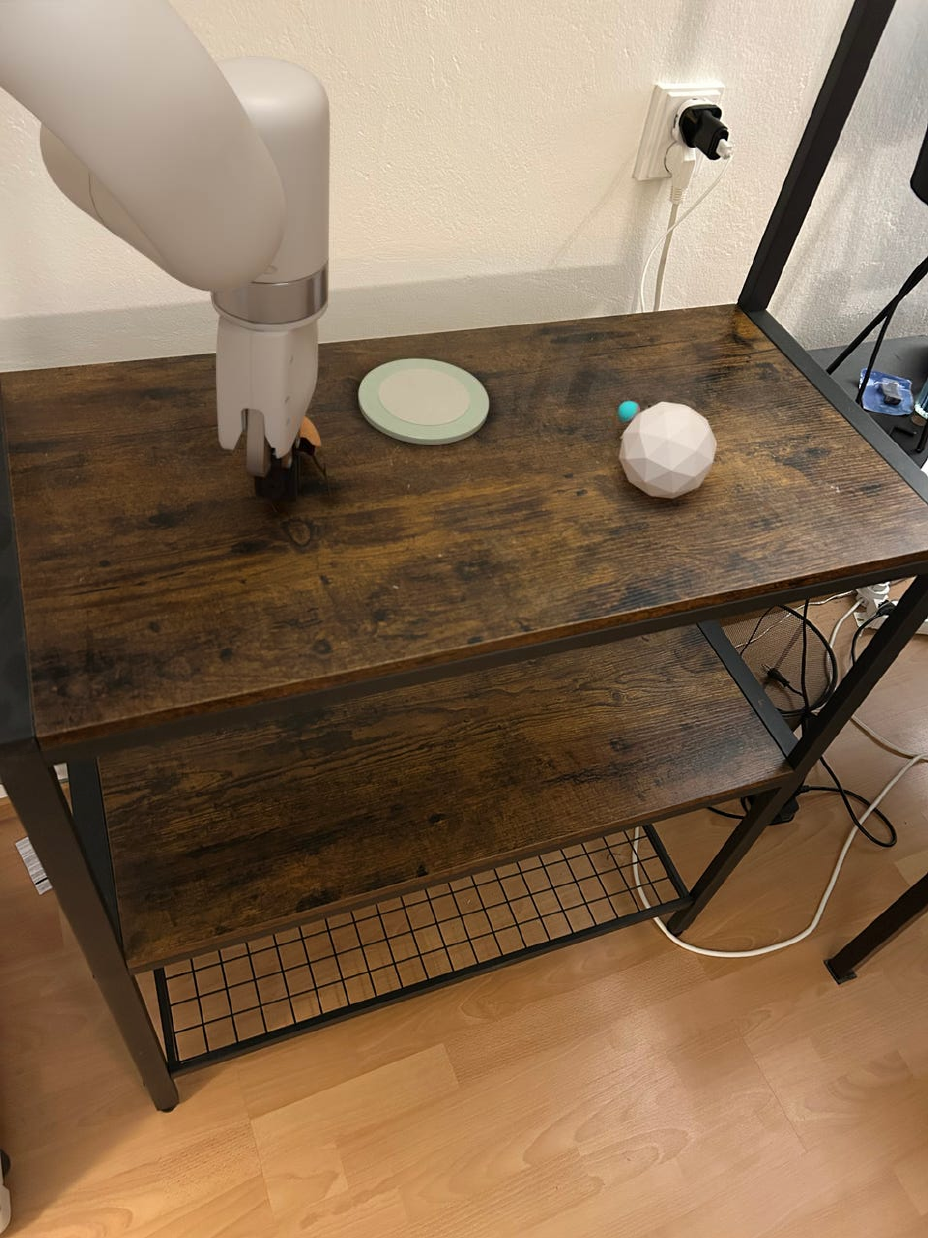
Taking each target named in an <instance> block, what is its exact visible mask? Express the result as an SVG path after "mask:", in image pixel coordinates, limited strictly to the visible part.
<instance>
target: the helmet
mask: <svg viewBox="0 0 928 1238" xmlns="http://www.w3.org/2000/svg"><path fill="white" fill-rule="evenodd" d="M318 447H320V448H322V441H321V438H320V434H319V432H318V430H317V428H316V426H315V425H314V423H313V422H312V421H311V420H310V419H309V418H308V417H307V416H306V415H305V416H304V418H303V421H302V423H301V426H300V442H299V446H298V448H297V449H296V448H292V450H298V451H300V454H302V453H305V454H306V455H308V456H309V457H311V458H312V460H313V462H314V464H315V466H316V468H317V469H318V471H319V472H320V473H321V474H322V475H323V477H324V479H325V482H326V487H327V491H328V501H329V500H331V499H332V495H331V488H330V483H329V480H328V475H327V468H326V462H325V459H324V453H321V455H322V459H323V467H322V465H321V464H320V462H319V460H318V459H317V457H316V454H317V450H318V449H317V448H318ZM320 451H321V452H323V450H322V449H320ZM268 500H269V504H270V505H271V507H272V509H273V510H274V512H275V514H278V512H277V510H276V509H275V506H274V505H273V504H272V501H271V499H268Z"/></svg>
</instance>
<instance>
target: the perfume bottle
mask: <svg viewBox="0 0 928 1238" xmlns="http://www.w3.org/2000/svg"><path fill="white" fill-rule="evenodd" d="M640 407H641V406H640V405H639V404H638V402H636V401H632V400H627V401H624V402H622V403H621V404H620V405H619V407H618V410H617V414H618V417H619V419H620V420H621V422H622V423H624V424H628V426H627V427H626V428H625V429H624V431H623V432H622V435H621V436H620V438H619V440H621V444H620V449H619V455H618V459H619V461H620V463H621V466H622V468H623V471H624V473H625V476H626V477H627V480H628V482H629V483H631V484H632V485H634V486H635V487H637V488H638V489H640V491H642V492H644V493H645V494H647V495H648V496H650V497H656V498H666V499H675V498H677V497H680V496H682V495H684V494H687V493H689V492H691V491H694V490H696V489H699V488H700V486H701V484H702V483H703V482H704V480H705V478H706V477H707V475H708V474H709V472H711V470H712V468H713V463H714V460H715V455H716V452H717V451H716V450H717V447H718V442H717V440H716V437H715V435H714V433H713V430H712V428H711V426H710V424H709V421H708V419H707V418H706V417H704V416H703V415H702V414H700V413H698V412H697V411H696V410H694V409H693V408H691V407H690V406H688V405H686V404H681V403H675V402H668V401H661V402H658V403H657V404H655V405H652V406H651V404H648V405H647V406H646V408H644V410H643V411H641V408H640Z"/></svg>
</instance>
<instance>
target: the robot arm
mask: <svg viewBox="0 0 928 1238" xmlns="http://www.w3.org/2000/svg"><path fill="white" fill-rule="evenodd" d="M0 88H2V89H3V91H5V92H6V93H8V95H10V96H11V97H12V98H13V99H15V101H17V102H18V103H19V104H20V105H22V107H24V108H25V109H26V110H27V111H28V112H29V113H31V115H32V116H34V118H36V119H37V120H38V121H39V122H40V129H39V148H40V153H41V157H42V161H43V164H44V166H45V169H46V171H47V173H48V175H49V177H50V178H51V180H52V182H53V183H54V184H55V186H56V187H57V188H58V190H59V191H60V192H61V193H62V195H64V196H65V197H66V198H67V199H68V200H69V201H70V202H71V203H72V204H73V205H74V206H76V207H77V208H78V209H80V210H81V211H83V212H84V213H85V214H86V215H88V216H89V217H90V218H91V219H93V220H95V221H96V222H97V223H98V224H99V225H101V226H102V227H104V228H105V229H106V230H108V232H110V233H112V235H115V236H116V237H118V238H119V239H120V240H122V241H124V242H125V243H126V244H127V245H129V246H131V247H132V248H133V249H135V250H136V251H138V252H139V253H140V254H141V255H143V256H144V257H145V258H147V259H148V260H149V261H151V262H152V263H153V264H154V265H156V267H159V268H160V269H161V270H162V271H164V272H165V273H166V274H167V275H169V276H170V277H172V278H173V279H175V280H176V281H178V282H179V283H181V284H183V285H184V286H185V285H186V286H187V287H190V288H192V289H196V290H198V291H202V292H209V293H210V294H209V295H210V301H211V305H212V308H213V309H214V311H215V312H216V313H217V314H218V315H219V317H218V323H217V334H216V351H215V352H216V353H215V388H216V389H215V390H216V413H217V416H216V417H217V433H218V435H217V436H218V442H219V445H220V446H221V448H222V449H224V450H229V451H230V450H231V451H234V450H235V448H236V446H237V443H238V441H239V440H240V438H241V435H242V433H243V432H244V430H245V431H246V465H245V466H246V468H245V469H246V470H245V472H246V474H247V475H249V476H253V480H254V481H253V483H254V493H255V496H257V497H259V498H264V499H268V500H269V499H270V500H275V501H280V502H285V503H291V504H293V503H295V502H296V501H297V498H298V494H299V493H300V490H301V487H302V484H301V483H302V481H301V479H302V477H301V476H302V475H301V453H300V451H298V450H292V448H296V449H297V448H298V446H299V442H300V426H301V423H302V421H303V418H304V416H305V417H306V413H307V412H308V408H309V407H310V403H311V401H312V398H313V397H314V393H315V389H316V386H317V380H318V370H319V328H318V327H319V326H318V320H319V319H321V317H322V316H324V314H325V313H326V312H327V309H328V307H329V292H330V291H329V286H330V284H329V283H330V282H329V280H330V279H329V278H330V252H329V251H330V172H331V171H330V170H331V169H330V160H331V159H330V157H331V156H330V155H331V152H330V151H331V149H330V148H331V146H330V145H331V117H330V116H331V115H330V102H329V97H328V94H327V92H326V89H325V87H324V85H323V83H322V81H320V79H319V78H318V77H317V76H316V75H315V74H314V73H312V72H311V71H310V70H308V69H307V68H305V67H303V66H302V65H299V64H297V63H295V62H292V61H288V60H285V59H280V58H276V57H269V56H259V55H247V56H245V55H244V56H235V57H230V58H225V59H221V60H219V61H215V60H214V59H213V57H212V55H211V54H210V52H208V50H207V49H206V48H205V46H204V45H203V43H202V42H201V41H200V40H199V37H198V36H197V35H196V34H195V33H194V31H193V30H192V29H191V27H189V25H188V24H187V23H186V21H185V20H184V19H183V17H182V16H181V15H180V13H179V12H178V11H177V10H176V8H175V7H174V6H173V5H172V4H171V2H170V1H169V0H0Z"/></svg>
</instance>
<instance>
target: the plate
mask: <svg viewBox="0 0 928 1238" xmlns="http://www.w3.org/2000/svg"><path fill="white" fill-rule="evenodd" d="M357 402H358V408H359V410H360V412H361V415H362V416H363V417H364V419H365V420H366V421H367V422H368V424H370V426H372V427H373V428H374V429H376V430H378V432H381V434H384V435H386V436H388V437H390V438H393V439H395V440H398V441H401V442H405V443H409V444H415V445H423V446H441V445H448V444H452V443H456V442H459V441H463V440H465V439H466V438H469V437H471V436H472V435H474V434H475V433H476V432H478V431H479V430H480V429H481V428H482V426H483V425H484V424H485V422H486V421H487V418H488V416H489V411H490V399H489V395H488V392H487V390H486V388H485V387H484V386H483V384H482V382H480V381H479V380H478V379H477V378H476V377H475V376H473V375H472V374H471V373H469V372H467V370H464V369H462V368H461V367H458V366H456V365H454V364H451V363H448V362H444V361H442V360H436V359H429V358H417V357H415V358H402V359H396V360H393V361H389V362H386V363H383V364H380V365H379V366H377V367H375V368H374V369H372V370H371V371H370V372H368V373H367V374H366V375H365V376H364V378H363V379H362V380H361V383H360V385H359V387H358V396H357Z"/></svg>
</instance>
